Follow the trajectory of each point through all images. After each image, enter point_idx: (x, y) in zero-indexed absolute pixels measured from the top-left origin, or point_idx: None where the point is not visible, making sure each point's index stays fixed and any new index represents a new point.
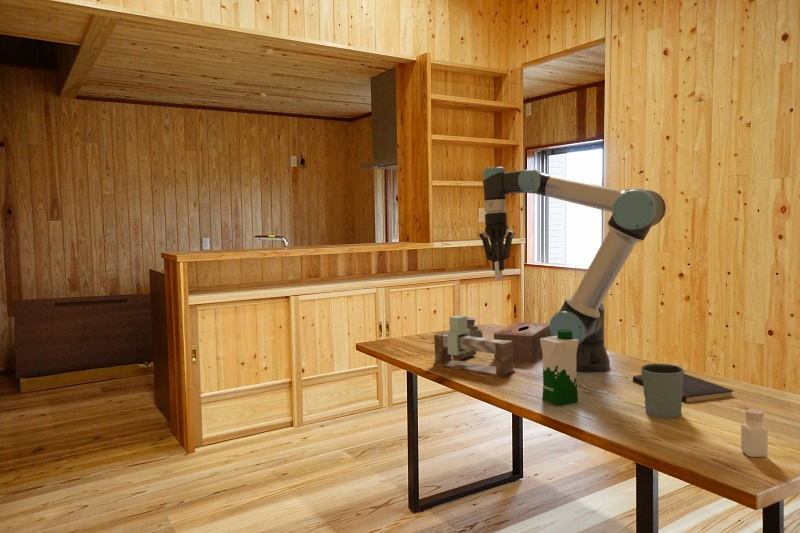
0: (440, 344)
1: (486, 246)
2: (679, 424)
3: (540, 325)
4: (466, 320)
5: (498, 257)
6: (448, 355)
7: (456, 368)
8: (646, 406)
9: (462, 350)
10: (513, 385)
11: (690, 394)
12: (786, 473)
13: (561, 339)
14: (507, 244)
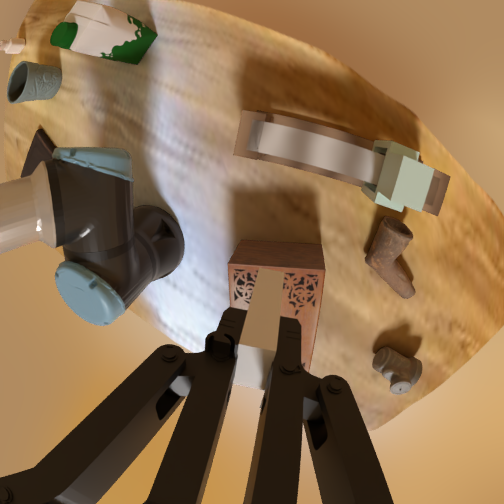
0: None
1: (355, 487)
2: (44, 63)
3: None
4: (386, 195)
5: (225, 373)
6: None
7: (369, 140)
8: (56, 71)
9: None
10: (220, 73)
11: (35, 139)
12: (18, 33)
13: (70, 20)
14: (74, 433)
